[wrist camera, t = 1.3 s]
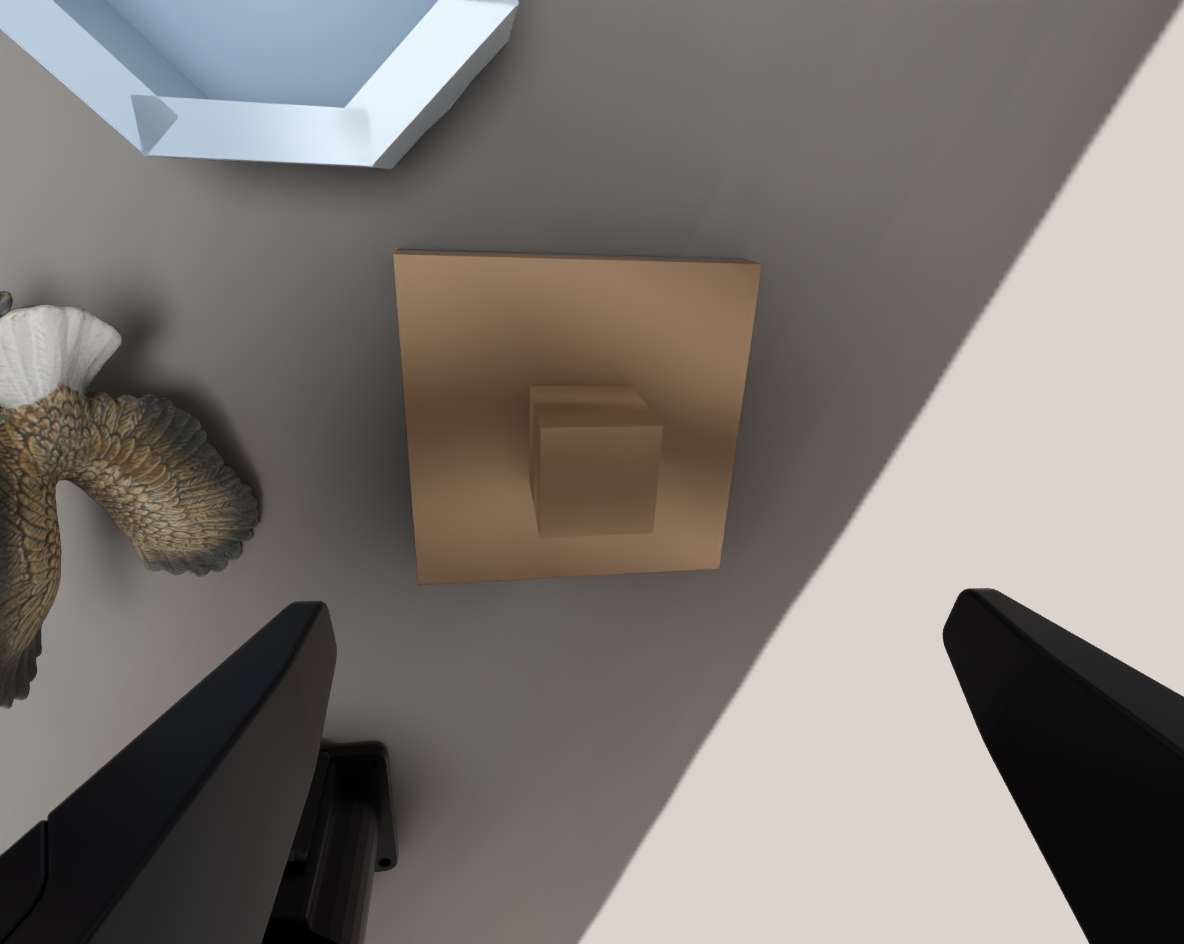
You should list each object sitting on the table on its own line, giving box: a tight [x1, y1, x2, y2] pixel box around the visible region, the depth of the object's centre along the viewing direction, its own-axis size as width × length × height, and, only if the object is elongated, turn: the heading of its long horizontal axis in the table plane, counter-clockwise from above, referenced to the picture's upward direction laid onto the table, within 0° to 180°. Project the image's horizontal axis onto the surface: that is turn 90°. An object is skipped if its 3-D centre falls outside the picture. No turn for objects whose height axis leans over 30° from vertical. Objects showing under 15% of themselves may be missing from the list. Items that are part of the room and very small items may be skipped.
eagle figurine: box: [0, 291, 259, 709], centre depth 16 cm, size 8×7×9 cm
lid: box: [393, 250, 762, 585], centre depth 18 cm, size 10×10×4 cm
